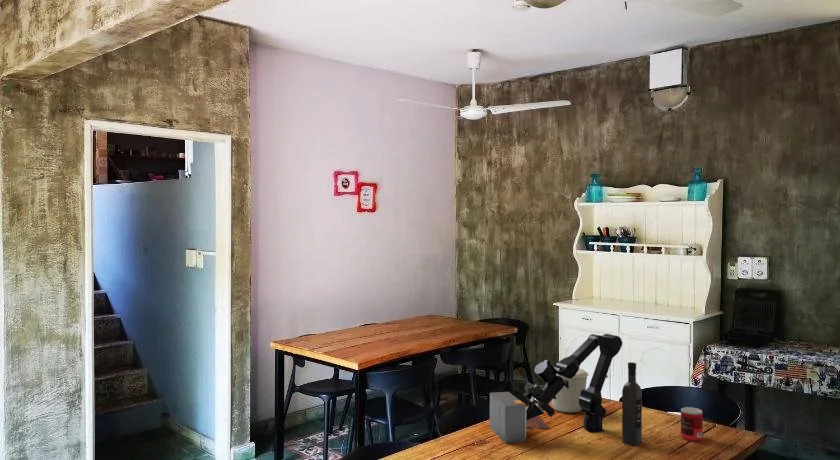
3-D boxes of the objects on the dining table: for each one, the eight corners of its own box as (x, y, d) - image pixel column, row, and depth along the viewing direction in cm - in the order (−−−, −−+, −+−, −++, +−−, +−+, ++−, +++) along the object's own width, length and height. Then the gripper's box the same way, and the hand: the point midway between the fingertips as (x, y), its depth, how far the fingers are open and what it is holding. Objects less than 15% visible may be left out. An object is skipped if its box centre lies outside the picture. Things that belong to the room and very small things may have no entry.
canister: (551, 402, 288) (551, 356, 288) (591, 406, 281) (591, 360, 281) (542, 412, 272) (542, 364, 272) (585, 417, 265) (585, 368, 265)
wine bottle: (642, 443, 234) (642, 363, 234) (634, 446, 230) (635, 365, 230) (628, 439, 238) (629, 360, 238) (620, 442, 234) (621, 362, 234)
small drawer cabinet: (510, 426, 254) (510, 391, 253) (527, 441, 235) (527, 403, 235) (489, 427, 252) (489, 392, 252) (505, 443, 233) (505, 405, 233)
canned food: (701, 436, 241) (701, 408, 241) (703, 443, 234) (703, 413, 234) (680, 434, 244) (680, 406, 244) (681, 440, 236) (681, 411, 236)
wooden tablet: (550, 430, 250) (550, 426, 250) (525, 431, 249) (525, 426, 249) (534, 411, 276) (534, 407, 276) (512, 411, 276) (512, 407, 276)
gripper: (528, 369, 248) (501, 399, 246) (546, 381, 230) (518, 412, 228) (546, 388, 250) (520, 417, 248) (566, 401, 232) (538, 432, 229)
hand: (524, 419), depth 238 cm, fingers closed, pressing on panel
